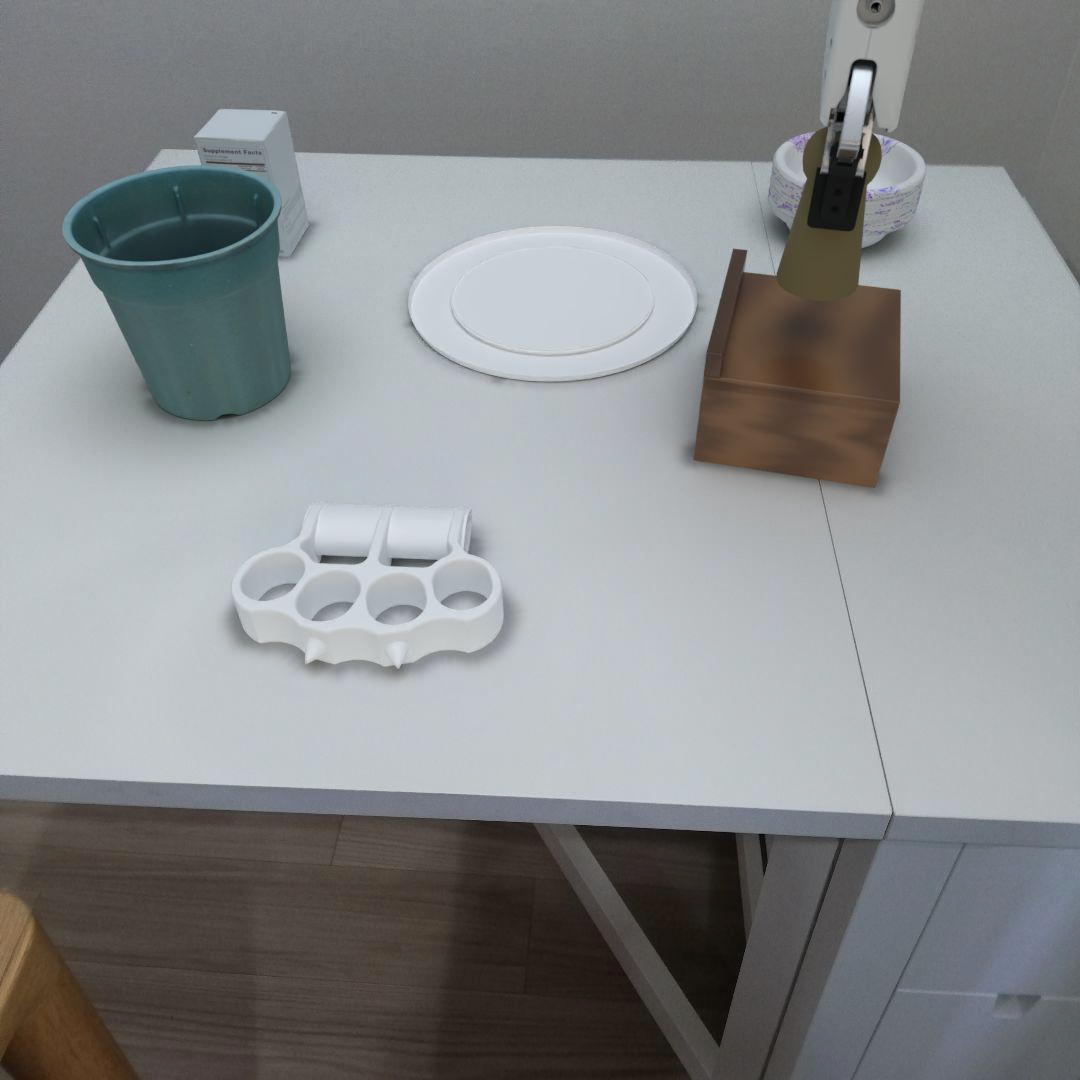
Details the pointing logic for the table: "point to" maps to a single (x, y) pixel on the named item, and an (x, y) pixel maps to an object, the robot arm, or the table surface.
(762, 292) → the brown wooden box
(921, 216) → the table surface
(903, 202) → the paper bowls
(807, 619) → the table surface
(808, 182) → the olive pawn figure
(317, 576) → the knuckle duster
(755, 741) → the table surface
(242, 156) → the white packaging box
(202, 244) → the flower pot
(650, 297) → the plate
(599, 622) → the table surface
